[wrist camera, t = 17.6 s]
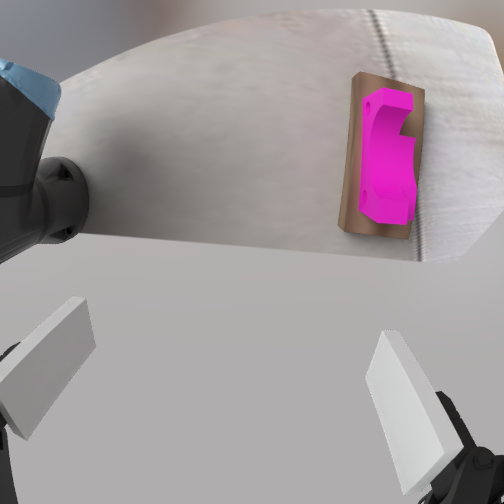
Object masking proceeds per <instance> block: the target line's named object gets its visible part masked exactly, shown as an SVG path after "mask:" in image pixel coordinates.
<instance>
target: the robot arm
mask: <svg viewBox="0 0 504 504" xmlns="http://www.w3.org/2000/svg"><path fill="white" fill-rule="evenodd" d="M60 97H61V87H60V85H59V83H58V82H57V81H55V80H53V79H51V78H49V77H47V76H45V75H43V74H40V73H38V72H36V71H34V70H31V69H28V68H26V67H24V66H21V65H18V64H14V63H12V62H10V61H7V60H4V59H1V58H0V264H1V263H3V262H5V261H6V260H8V259H10V258H12V257H13V256H15V255H17V254H19V253H21V252H22V251H24V250H26V249H28V248H30V247H32V246H33V245H36V244H59V243H63V242H65V241H67V240H69V239H71V238H73V237H74V236H75V235H77V234H78V233H79V232H80V230H81V229H82V227H83V225H84V223H85V221H86V218H87V214H88V206H89V197H88V190H87V185H86V182H85V179H84V177H83V175H82V173H81V171H80V170H79V168H78V167H77V166H76V165H75V164H74V163H73V162H72V161H70V160H68V159H66V158H64V157H49V158H45V159H42V160H40V159H41V155H42V152H43V149H44V145H45V142H46V139H47V136H48V133H49V130H50V127H51V124H52V122H53V121H54V119H55V116H54V115H55V112H56V109H57V106H58V103H59V100H60ZM95 348H96V344H95V340H94V336H93V331H92V326H91V322H90V317H89V312H88V306H87V301H86V298H81V297H76V296H73V297H72V298H70V299H69V300H68V301H67V302H66V303H65V304H63V305H62V306H61V307H60V308H59V309H57V310H56V311H55V312H54V313H53V314H52V315H51V316H50V317H48V318H47V319H46V320H45V321H44V322H43V323H42V324H40V325H39V326H38V327H37V328H36V329H35V330H34V331H33V332H32V333H30V334H29V335H28V336H27V337H26V338H25V339H24V340H23V341H22V342H19V343H17V344H15V345H13V346H11V347H10V348H8V349H7V350H6V351H5V352H4V353H3V355H1V356H0V504H18V501H17V497H16V492H15V487H14V482H13V477H12V471H11V465H10V457H9V449H8V440H7V432H6V429H5V428H4V427H5V425H6V424H8V425H9V427H10V428H11V430H12V431H13V433H15V434H16V435H18V436H20V437H22V438H23V439H25V440H28V438H29V437H30V436H31V434H32V433H33V431H34V430H35V428H36V427H37V425H38V424H39V422H40V421H41V420H42V418H43V417H44V415H45V414H46V413H47V411H48V410H49V408H50V407H51V406H52V404H53V403H54V401H55V400H56V399H57V397H58V396H59V395H60V393H61V392H62V390H63V389H64V388H65V387H66V385H67V384H68V382H69V381H70V380H71V379H72V377H73V376H74V375H75V373H76V372H77V371H78V369H79V368H80V366H81V365H82V364H83V363H84V362H85V360H86V359H87V358H88V357H89V355H90V354H91V353H92V351H93V350H94V349H95ZM365 379H366V382H367V385H368V387H369V390H370V392H371V395H372V398H373V401H374V404H375V407H376V410H377V413H378V416H379V419H380V421H381V425H382V428H383V431H384V434H385V437H386V440H387V443H388V446H389V449H390V452H391V456H392V459H393V462H394V465H395V469H396V472H397V475H398V479H399V482H400V486H401V489H402V493H403V495H404V496H405V495H409V494H413V493H416V492H420V491H422V490H423V489H424V488H425V487H426V486H427V485H429V484H431V487H432V490H431V491H430V492H429V493H428V494H426V495H425V496H424V497H423V498H422V499H421V500H420V501H419V503H418V504H421V503H422V502H423V501H425V502H424V504H504V502H503V503H502V502H501V497H502V496H503V495H504V455H496V456H495V455H494V454H493V453H492V452H491V451H490V450H489V449H487V448H485V447H477V446H476V444H475V442H474V440H473V439H472V437H471V435H470V433H469V431H468V429H467V427H466V425H465V424H464V422H463V420H462V419H461V418H460V415H459V413H458V411H456V408H455V406H454V404H453V402H452V401H451V399H450V398H449V397H448V396H446V395H445V394H444V393H443V392H442V391H439V392H435V391H434V390H433V388H432V386H431V384H430V383H429V381H428V379H427V378H426V376H425V375H424V372H423V371H422V369H421V367H420V366H419V364H418V363H417V361H416V359H415V358H414V356H413V355H412V353H411V351H410V349H409V348H408V346H407V345H406V343H405V341H404V340H403V338H402V337H401V335H400V333H399V332H398V330H382V333H381V336H380V339H379V342H378V344H377V347H376V350H375V353H374V356H373V359H372V361H371V364H370V366H369V369H368V372H367V374H366V377H365Z"/></svg>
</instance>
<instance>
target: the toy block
mask: <svg viewBox="0 0 504 504" xmlns="http://www.w3.org/2000/svg"><path fill="white" fill-rule="evenodd" d="M412 111H413V94H412V93H407V92H403V91H398V90H394V89H389V88H384V87H382V88H381V89H379V90H377V91H375V92H373V93H372V94H370V95H368V96H366V97H365V98H363V99H362V160H361V179H360V194H359V207H358V210H359V211H360V212H362V213H363V214H365V215H366V216H368V217H369V218H371V219H372V220H374V221H375V222H377V223H388V224H402V225H407V220H414V212H415V203H416V193H417V187H416V183H415V178H414V171H413V153H414V145H415V141H416V138H413V137H407V136H402V135H399V133H400V130H401V127H402V124H403V122H404V120H405V118H406V117H407V116H408V114H409V113H411V112H412Z"/></svg>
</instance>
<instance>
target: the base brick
mask: <svg viewBox="0 0 504 504" xmlns="http://www.w3.org/2000/svg"><path fill="white" fill-rule="evenodd" d="M382 87H384V88H389V89H394V90H398V91H403V92H407V93H412V94H413V111H412V112H411V113H409V114H408V116H407V117H406V118H405V120H404V122H403V124H402V127H401V130H400V133H399V135H402V136H407V137H413V138H416V141H415V145H414V153H413V171H414V178H415V183H416V187H418V179H419V171H420V163H421V152H422V141H423V126H424V98H425V90H424V89H421V88H418V87H415V86H412V85H409V84H405V83H402V82H399V81H395V80H392V79H388V78H384V77H381V76H377V75H373V74H368V73H364V72H359V73H358V74H356V75H355V76H354V77H353V78H352V89H351V107H350V122H349V134H348V146H347V156H346V166H345V175H344V183H343V191H342V199H341V206H340V214H339V221H338V225H339V227H340V228H341V229H342V230H343V231H344V232H352V233H360V234H369V235H377V236H385V237H393V238H401V239H409V234H410V229H411V224H412V220H407V225H402V224H388V223H377V222H375V221H374V220H372V219H371V218H369V217H368V216H366V215H365V214H363V213H362V212H360V211H359V210H358V207H359V194H360V179H361V160H362V99H363V98H365V97H366V96H368V95H370V94H372V93H373V92H375V91H377V90H379V89H381V88H382ZM416 194H417V193H416Z"/></svg>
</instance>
